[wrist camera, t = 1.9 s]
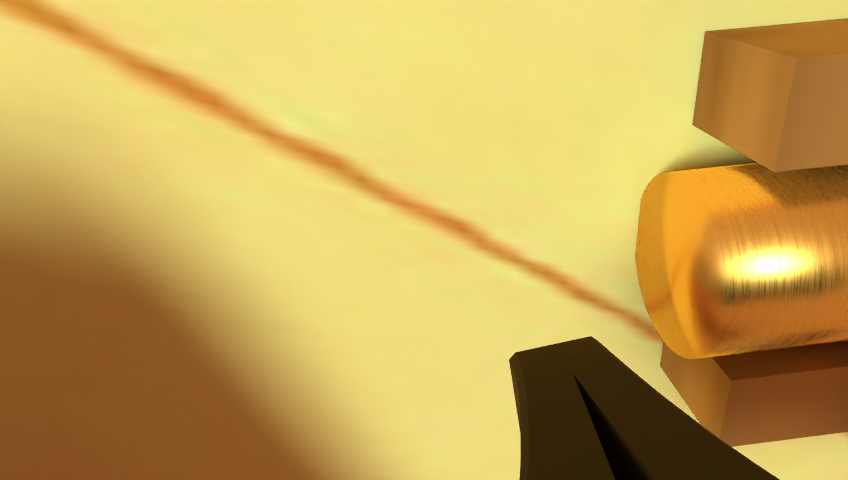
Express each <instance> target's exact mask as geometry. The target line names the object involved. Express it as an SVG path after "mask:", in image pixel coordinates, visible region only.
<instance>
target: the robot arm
mask: <svg viewBox="0 0 848 480" xmlns="http://www.w3.org/2000/svg"><path fill="white" fill-rule="evenodd" d="M509 362H510V368H511V375H512V381H513V388H514V394H515V401H516V407H517V413H518V420H519V426H520V433H521V466H520V480H779V479H778V478H776V477H775V476H773V475H772V474H770V473H769V472H767V471H766V470H764V469H763V468H761V467H760V466H758V465H757V464H755V463H754V462H752V461H751V460H749V459H748V458H747V457H745V456H744V455H742V454H741V453H739V452H738V451H736V450H735V449H733V448H732V447H731V446H729V445H728V444H726V443H725V442H723V441H722V440H721V439H719V438H718V437H717V436H715V435H714V434H712V433H711V432H710V431H708V430H707V429H705V428H704V427H703V426H701V425H700V424H699V423H698V422H696V421H695V420H694V419H692V418H691V417H690V416H688V415H687V414H686V413H684V412H683V411H682V410H681V409H679V408H678V407H677V406H675V405H674V404H673V403H671V402H670V401H669V400H667V399H666V398H665V397H664V396H662V395H661V394H660V393H659V392H657V391H656V390H655V389H654V388H652V387H651V386H650V385H649V384H648V383H646V382H645V381H644V380H643V379H642V378H640V377H639V376H638V375H637V374H636V373H634V372H633V371H632V370H631V369H630V368H628V367H627V366H626V365H625V364H624V363H623V362H621V361H620V360H619V359H618V358H617V357H616V356H615V355H613V354H612V353H611V352H610V351H609V350H608V349H607V348H605V347H604V346H603V345H602V344H601V343H600V342H599V341H597V340H596V339H594V338H593V337H591V336H590V337H585V338H581V339H576V340H571V341H567V342H562V343H558V344H553V345H548V346H544V347H539V348H534V349H530V350H525V351H521V352H516V353H515V354H514V355H513V356H512V357H511V358H510V360H509Z"/></svg>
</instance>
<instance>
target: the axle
mask: <svg viewBox="0 0 848 480" xmlns="http://www.w3.org/2000/svg"><path fill="white" fill-rule="evenodd" d="M635 256H636V266H637V274H638V279H639V284H640V288H641V292H642V296H643V299H644V303H645V306H646V308H647V311H648V314H649V316H650V318H651V321H652V323H653V325H654V327H655V328H656V330H657V332H658V334H659V335H660V337H661V338H662V340H663V341H664V342H665V344H666V345H667V346H668V347H669V348H670V349H671V350H672V351H673V352H675V353H676V354H677V355H679V356H681V357H683V358H687V359H698V358H707V357H715V356H723V355H731V354H740V353H748V352H756V351H765V350H773V349H781V348H790V347H798V346H806V345H814V344H823V343H831V342H839V341H848V164H847V165H837V166H828V167H818V168H808V169H799V170H789V171H780V172H773V171H771V170H769V169H768V168H766V167H764V166H762V165H761V164H759V163H749V164H740V165H730V166H720V167H711V168H701V169H691V170H682V171H672V172H664V173H661V174H659V175H657V176H656V177H654V178H653V179H652V180H651V181H650V183H649V184H648V185H647V187H646V189H645V191H644V193H643V195H642V198H641V205H640V215H639V225H638V234H637V244H636V254H635Z"/></svg>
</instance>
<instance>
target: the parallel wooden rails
mask: <svg viewBox="0 0 848 480" xmlns="http://www.w3.org/2000/svg"><path fill="white" fill-rule="evenodd" d="M693 125H694V126H695V127H697V128H699V129H700V130H702V131H704V132H706V133H707V134H709V135H711V136H713V137H714V138H716V139H718V140H719V141H721V142H723V143H725V144H726V145H728V146H730V147H731V148H733V149H735V150H737V151H738V152H740V153H742V154H743V155H745V156H747V157H749V158H750V159H752V160H754V161H756V162H757V163H759V164H761V165H762V166H764V167H766V168H768V169H769V170H771V171H773V172H780V171H789V170H799V169H808V168H818V167H828V166H837V165H847V164H848V19H838V20H827V21H816V22H805V23H794V24H783V25H772V26H761V27H750V28H739V29H728V30H717V31H706V32H705V36H704V44H703V51H702V59H701V66H700V74H699V81H698V89H697V96H696V103H695V111H694V118H693ZM660 366H661V368H662V369H663V371H664V372H665V374H666V375H667V377H668V378H669V379H670V381H671V382H672V384H673V385H674V387H675V388H676V389H677V391H678V392H679V394H680V395H681V397H682V398H683V400H684V401H685V402H686V404H687V405H688V407H689V408H690V410H691V411H692V413H693V414H694V415H695V417H696V418H697V420H698V421H699V423H700V424H701V426H703V427H704V428H705V429H707V430H708V431H710V432H711V433H712V434H714V435H715V436H717V437H718V438H719V439H721V440H722V441H723V442H725V443H726V444H728V445H729V446H731V447H732V446H740V445H748V444H756V443H763V442H771V441H779V440H787V439H794V438H802V437H810V436H818V435H825V434H833V433H841V432H848V341H839V342H831V343H823V344H814V345H806V346H798V347H790V348H781V349H773V350H765V351H756V352H748V353H740V354H731V355H723V356H715V357H707V358H698V359H687V358H683V357H681V356H679V355H677V354H676V353H675V352H673V351H672V350H671V349H670V348H669V347H668V346H667V345H666V344H665V342H663V349H662V357H661V364H660Z"/></svg>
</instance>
